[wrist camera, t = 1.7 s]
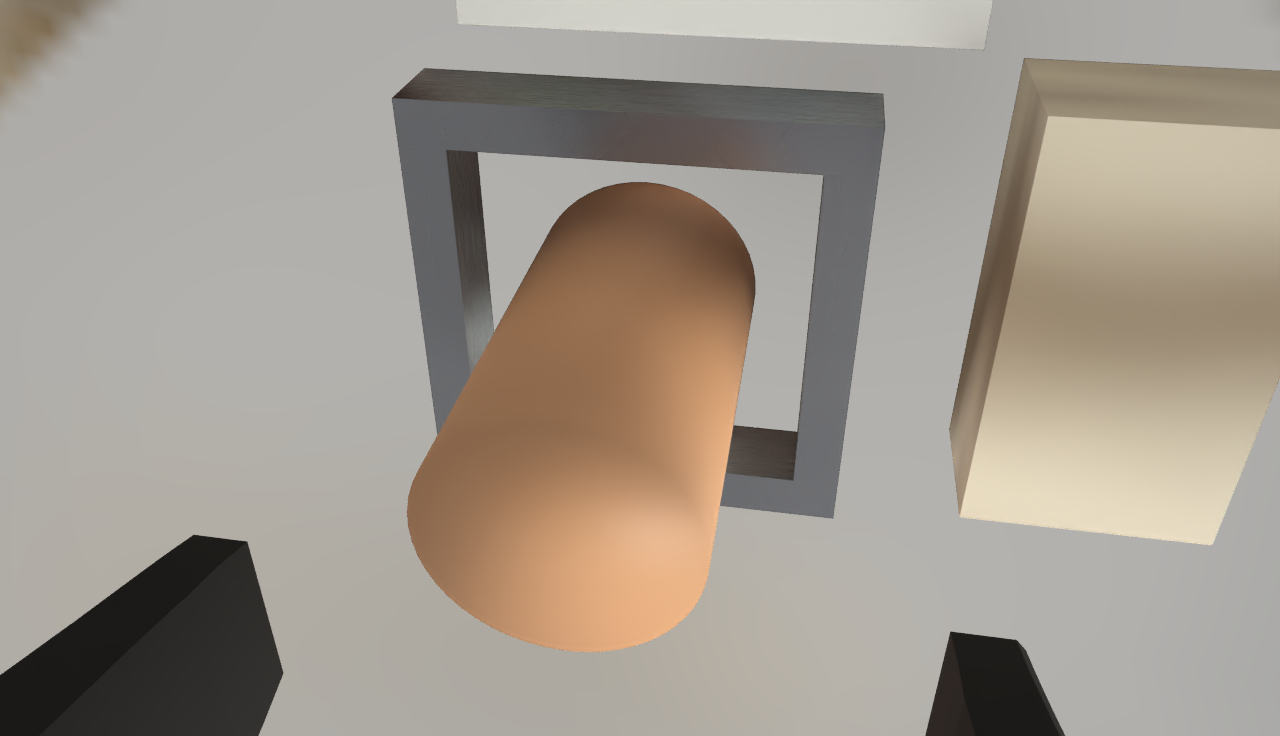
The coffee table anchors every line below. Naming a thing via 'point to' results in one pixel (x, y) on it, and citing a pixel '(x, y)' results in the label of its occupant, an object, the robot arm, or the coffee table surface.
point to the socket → (659, 134)
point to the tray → (753, 19)
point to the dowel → (595, 428)
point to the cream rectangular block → (1124, 301)
